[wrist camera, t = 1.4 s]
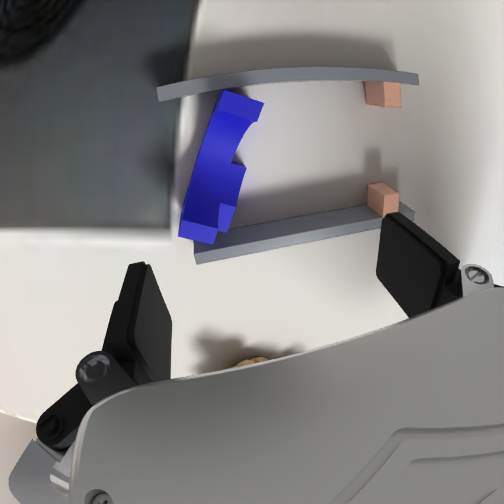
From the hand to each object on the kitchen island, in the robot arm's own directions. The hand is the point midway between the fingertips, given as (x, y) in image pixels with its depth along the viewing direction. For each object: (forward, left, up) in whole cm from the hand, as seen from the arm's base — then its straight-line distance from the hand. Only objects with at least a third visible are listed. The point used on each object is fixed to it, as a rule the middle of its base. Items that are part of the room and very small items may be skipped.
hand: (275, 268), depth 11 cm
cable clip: (+1, 0, -19) cm, 19 cm away
